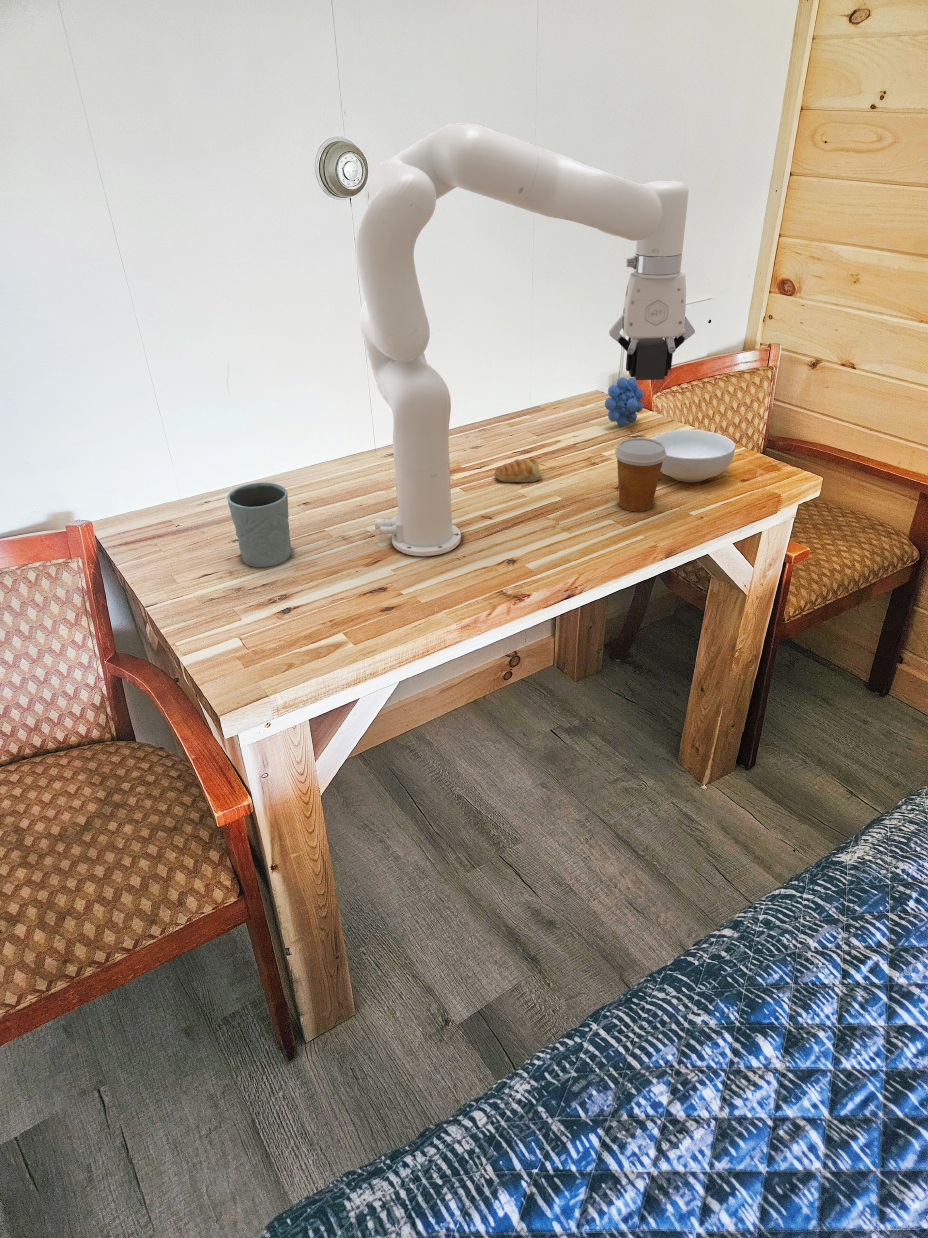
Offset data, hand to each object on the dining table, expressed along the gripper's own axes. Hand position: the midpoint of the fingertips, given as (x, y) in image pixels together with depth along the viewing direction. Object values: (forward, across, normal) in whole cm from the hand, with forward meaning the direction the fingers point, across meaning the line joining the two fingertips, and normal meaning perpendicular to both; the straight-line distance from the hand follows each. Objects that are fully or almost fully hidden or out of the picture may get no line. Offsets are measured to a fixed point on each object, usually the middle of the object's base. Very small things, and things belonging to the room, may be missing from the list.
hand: (647, 373), depth 146 cm
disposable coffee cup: (+26, 0, 0) cm, 26 cm away
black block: (0, 0, 0) cm, 0 cm away
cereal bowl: (+26, +13, +14) cm, 32 cm away
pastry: (+26, -22, +14) cm, 37 cm away
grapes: (+26, +4, +43) cm, 50 cm away
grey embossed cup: (+25, -68, -19) cm, 75 cm away
